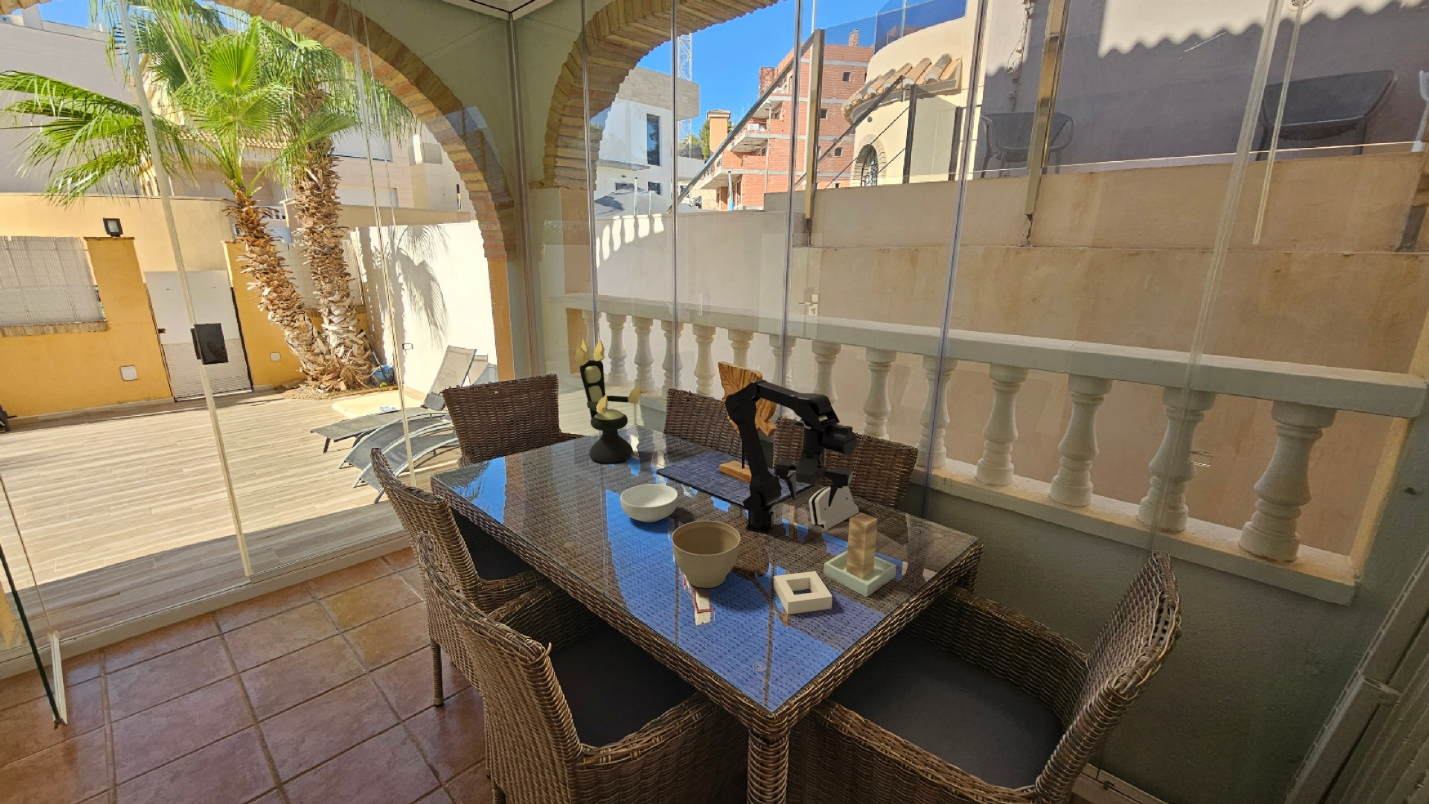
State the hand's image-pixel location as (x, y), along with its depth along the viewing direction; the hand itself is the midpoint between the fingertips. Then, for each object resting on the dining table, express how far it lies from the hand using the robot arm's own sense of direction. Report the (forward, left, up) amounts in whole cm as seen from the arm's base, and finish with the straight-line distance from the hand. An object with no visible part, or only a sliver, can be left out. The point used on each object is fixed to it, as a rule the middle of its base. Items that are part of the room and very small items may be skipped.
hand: (811, 503), depth 139 cm
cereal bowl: (-48, -1, -13) cm, 50 cm away
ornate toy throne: (-90, +36, -13) cm, 98 cm away
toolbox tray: (+14, -7, -13) cm, 21 cm away
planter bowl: (-19, -23, -13) cm, 33 cm away
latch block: (+4, -22, -13) cm, 25 cm away
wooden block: (+14, -7, -12) cm, 20 cm away
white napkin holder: (+1, +21, -13) cm, 25 cm away
